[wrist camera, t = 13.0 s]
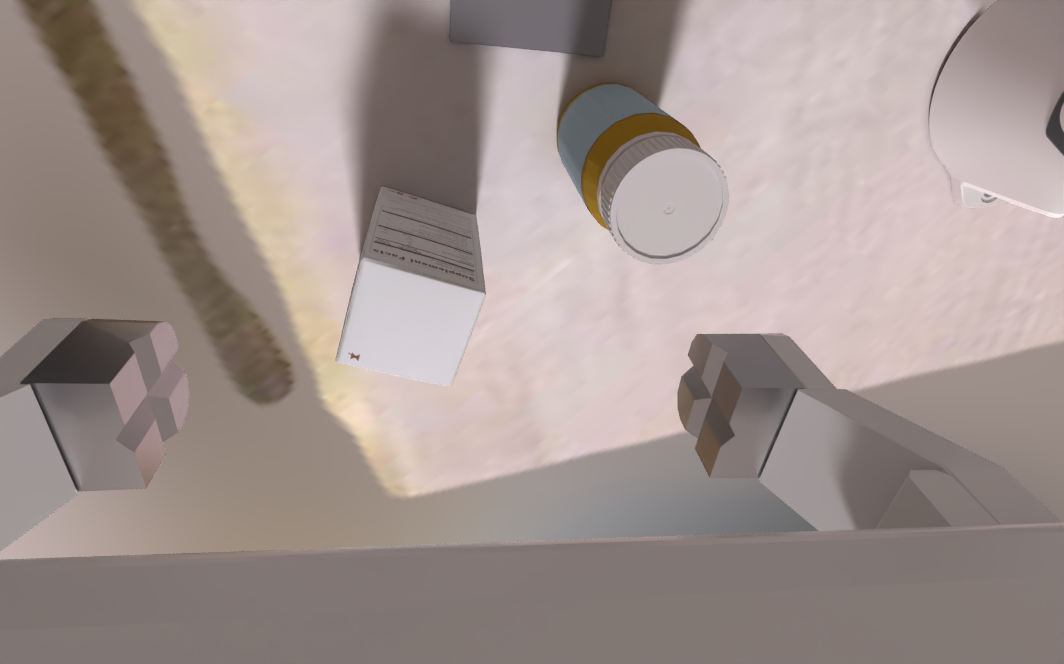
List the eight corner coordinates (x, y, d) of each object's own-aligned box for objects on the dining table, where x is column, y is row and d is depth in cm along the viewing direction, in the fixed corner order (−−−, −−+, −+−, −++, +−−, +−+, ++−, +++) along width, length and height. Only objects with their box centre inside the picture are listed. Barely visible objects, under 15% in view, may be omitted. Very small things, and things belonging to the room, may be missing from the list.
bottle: (615, 58, 39) (693, 106, 27) (669, 138, 43) (761, 214, 30) (535, 128, 41) (573, 204, 29) (592, 200, 44) (649, 296, 32)
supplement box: (450, 295, 47) (450, 392, 37) (357, 269, 45) (329, 365, 35) (480, 213, 44) (490, 294, 33) (381, 180, 42) (358, 256, 31)
